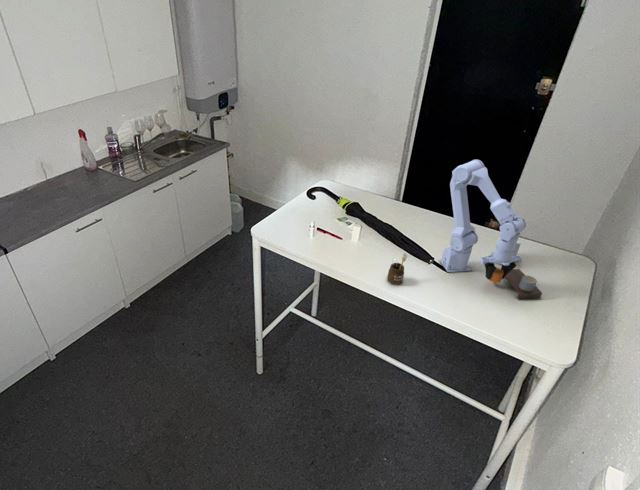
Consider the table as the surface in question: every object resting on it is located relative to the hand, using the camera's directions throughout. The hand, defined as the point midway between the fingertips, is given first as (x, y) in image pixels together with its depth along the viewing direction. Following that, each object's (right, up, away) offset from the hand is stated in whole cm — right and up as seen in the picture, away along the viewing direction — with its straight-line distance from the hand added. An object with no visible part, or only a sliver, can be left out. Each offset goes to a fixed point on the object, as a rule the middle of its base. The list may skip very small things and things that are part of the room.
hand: (494, 277), depth 155 cm
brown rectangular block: (+9, -3, 0) cm, 10 cm away
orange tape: (0, 0, 0) cm, 1 cm away
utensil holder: (-36, -2, +7) cm, 37 cm away
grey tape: (+9, -3, -4) cm, 11 cm away
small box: (+13, +7, +15) cm, 21 cm away
